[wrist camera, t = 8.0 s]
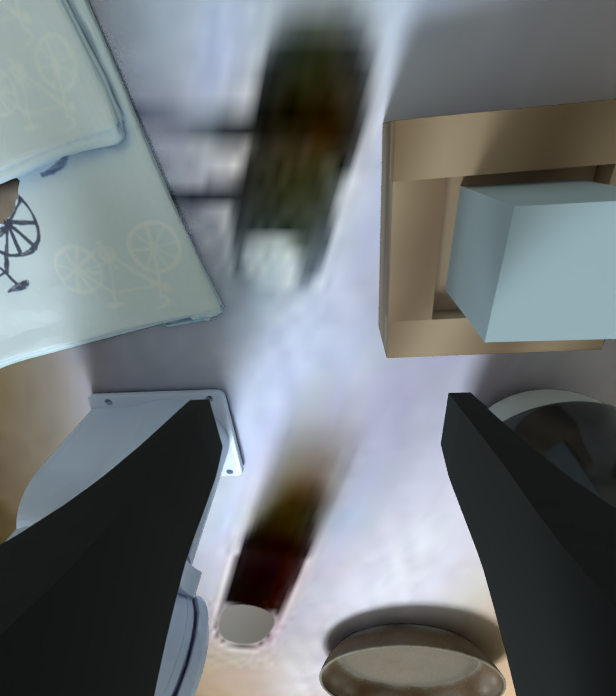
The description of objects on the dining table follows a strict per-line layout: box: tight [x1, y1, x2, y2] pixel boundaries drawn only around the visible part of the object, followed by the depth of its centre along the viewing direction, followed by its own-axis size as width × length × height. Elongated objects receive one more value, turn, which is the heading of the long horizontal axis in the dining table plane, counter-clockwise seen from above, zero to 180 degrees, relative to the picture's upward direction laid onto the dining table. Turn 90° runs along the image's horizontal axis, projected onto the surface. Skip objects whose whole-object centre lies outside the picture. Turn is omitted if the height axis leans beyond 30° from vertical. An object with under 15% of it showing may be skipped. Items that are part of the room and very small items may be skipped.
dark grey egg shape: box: [488, 389, 616, 508], centre depth 17 cm, size 10×10×15 cm
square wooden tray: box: [379, 99, 616, 358], centre depth 16 cm, size 10×10×4 cm
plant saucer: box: [319, 624, 506, 696], centre depth 42 cm, size 21×21×3 cm
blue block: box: [445, 179, 616, 342], centre depth 13 cm, size 4×4×5 cm
